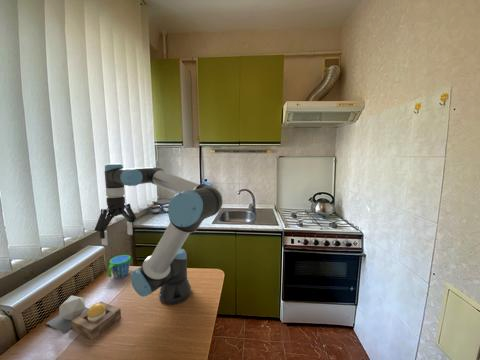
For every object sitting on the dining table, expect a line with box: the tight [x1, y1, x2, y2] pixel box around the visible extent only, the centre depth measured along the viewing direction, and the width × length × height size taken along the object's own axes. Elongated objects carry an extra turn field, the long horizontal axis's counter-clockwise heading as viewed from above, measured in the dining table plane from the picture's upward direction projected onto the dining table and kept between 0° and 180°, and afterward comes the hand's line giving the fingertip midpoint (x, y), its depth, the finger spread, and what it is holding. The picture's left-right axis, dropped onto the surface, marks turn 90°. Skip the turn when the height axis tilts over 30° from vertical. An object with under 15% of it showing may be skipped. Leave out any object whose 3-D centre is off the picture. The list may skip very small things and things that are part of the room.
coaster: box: [45, 306, 90, 334], centre depth 89 cm, size 12×12×1 cm
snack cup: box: [107, 254, 133, 280], centre depth 120 cm, size 16×10×10 cm
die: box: [58, 295, 86, 320], centre depth 88 cm, size 8×9×10 cm
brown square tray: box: [71, 301, 122, 341], centre depth 86 cm, size 12×12×4 cm
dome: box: [88, 302, 106, 323], centre depth 85 cm, size 6×6×7 cm
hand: (118, 239), depth 101 cm, fingers open, 13 cm apart
